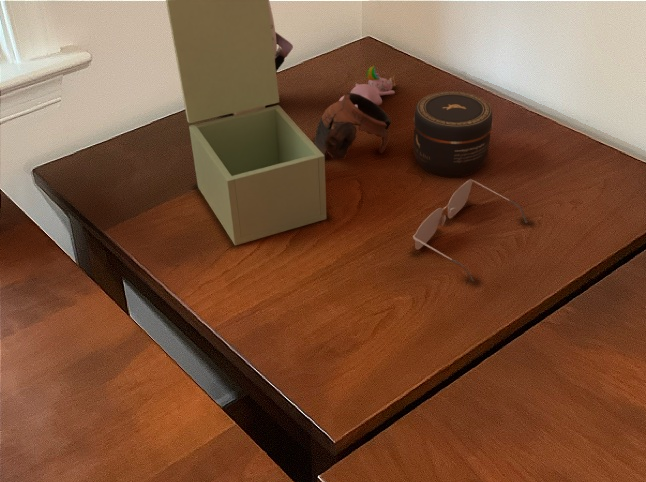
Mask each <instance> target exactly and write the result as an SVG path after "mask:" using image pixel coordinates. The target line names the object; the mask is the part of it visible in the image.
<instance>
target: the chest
mask: <svg viewBox="0 0 646 482" xmlns="http://www.w3.org/2000/svg"><path fill="white" fill-rule="evenodd" d="M188 130H189V136H190V143H191V149H192V155H193V157H192V158H193V162H194V163H193V164H194V169H195V177H196V182H197V183H196V184H197V188H198V190H199V192H201V194H202V196H203V198H204V199H205V201H206V202H207V204H208V205H209V207H210V208H211V210H212V211H213V213H214V215H215V216H216V218H217V219H218V221H219V223H221V226H222V227H223V229H224V230H225V232H226V233H227V235H228V237H229V239H230V240H231V241H232V243H233V244H234V246H238V245H243V244H246V243H249V242H253V241H255V240H259V239H263V238H267V237H269V236H274V235H277V234H280V233H283V232H286V231H291V230H294V229H297V228H300V227H303V226H307V225H311V224H314V223H318V222H320V221H325V220H327V191H326V187H327V186H326V161H325V160H326V159H325V156H324V155H323V154H322V152H321V151H320V150H319V149H318V148H317V147H316V146H315V145H314V142H313V141H312V140H311V139H310V138H309V137H308V136H307V134H305V132H304V131H302V129H301V128H300V127H299V126H298V124H296V123H295V122H294V120H293V119H292V117H290V116H289V115H288V114H287V112H286V111H285V110H284V109H283V108H282V107H281V106H280V105H279V104H277V105H273V106H269V107H265V108H264V109H259V110H255V111H251V112H247V113H242V114H238V115H230V116H229V115H228V116H226V117H222V118H221V117H220V118H217V119H213V120H209V121H205V122H200V123H196V124H191V125H189V126H188Z"/></svg>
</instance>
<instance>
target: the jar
mask: <svg viewBox="0 0 646 482" xmlns="http://www.w3.org/2000/svg"><path fill="white" fill-rule="evenodd" d="M413 115H414V117H413V144H412V145H413V152H414V156H415V160H416V162H417V163H418V164H419V166H420V167H421V168H422V169H423V170H425V171H426V172H428V173H430V174H433V175H436V176H440V177H445V178H446V177H447V178H460V177H465V176H469V175H471V174H474V173H475V172H477V171H478V170H479V169H481V168H482V167H483V165H484V163H485V161H486V160H487V157H488V154H489V149H490V141H491V133H492V129H493V119H494V113H493V108H492V106H491V105H490V104H489V102H488V101H486V100H485V99H483V98H482V97H480V96H478V95H476V94H472V93H469V92H463V91H451V90H449V91H440V92H434V93H431V94H428V95H426V96H424V97H422V98H421V99H420V100H419V101H418V102H417V104H416V105H415V109H414V114H413Z"/></svg>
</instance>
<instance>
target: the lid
mask: <svg viewBox="0 0 646 482" xmlns="http://www.w3.org/2000/svg"><path fill="white" fill-rule="evenodd" d="M165 3H166V9H167V15H168V20H169V25H170V26H169V27H170V31H171V37H172V43H173V48H174V53H175V59H176V66H177V70H178V77H179V82H180V87H181V93H182V98H183V104H184V109H185V115H186V121H187V123H188V124H192V123H196V122H201V121H205V120H210V119H215V118H218V117H223V116H226V115H227V116H228V115H233V114H232V113H236V112H240V111H244V110H249V109H253V108H257V107H262V106H265V107H266V106H269V105H270V106H271V105H274V104H279V103H280V95H279V86H278V85H279V84H278V78H277V77H278V76H277V75H276V67H275V58H274V49H273V40H272V31H271V27H272V26H271V22H270V13H269V4H268V0H165Z"/></svg>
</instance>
